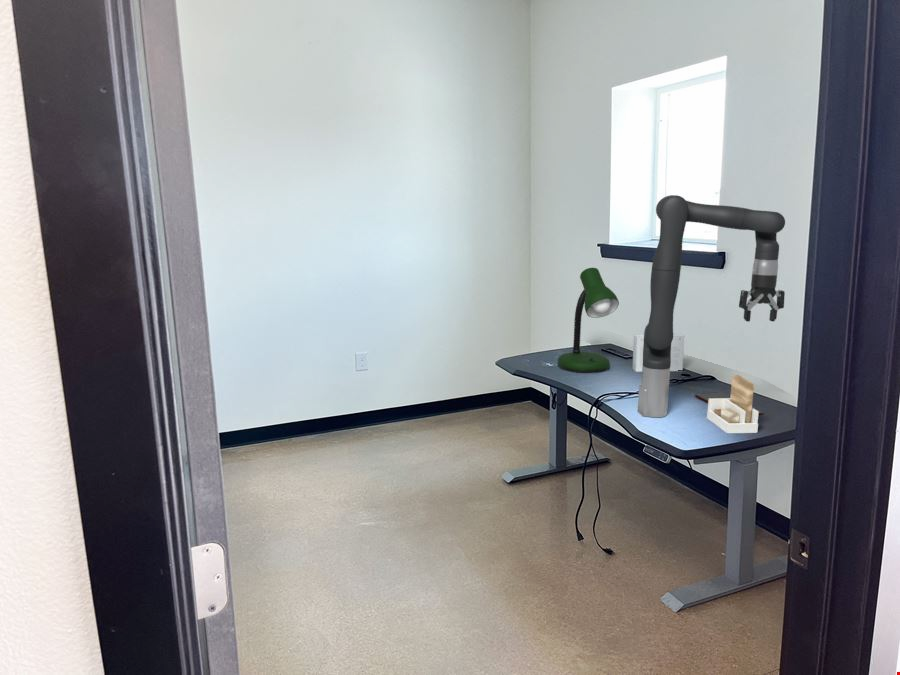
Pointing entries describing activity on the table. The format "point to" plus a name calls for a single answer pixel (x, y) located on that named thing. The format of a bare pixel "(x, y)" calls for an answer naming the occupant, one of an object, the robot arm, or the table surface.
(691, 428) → the table surface
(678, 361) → the skincare box
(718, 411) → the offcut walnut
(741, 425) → the rack
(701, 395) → the smartphone
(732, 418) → the offcut maple
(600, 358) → the desk lamp
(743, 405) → the tan rectangular block
